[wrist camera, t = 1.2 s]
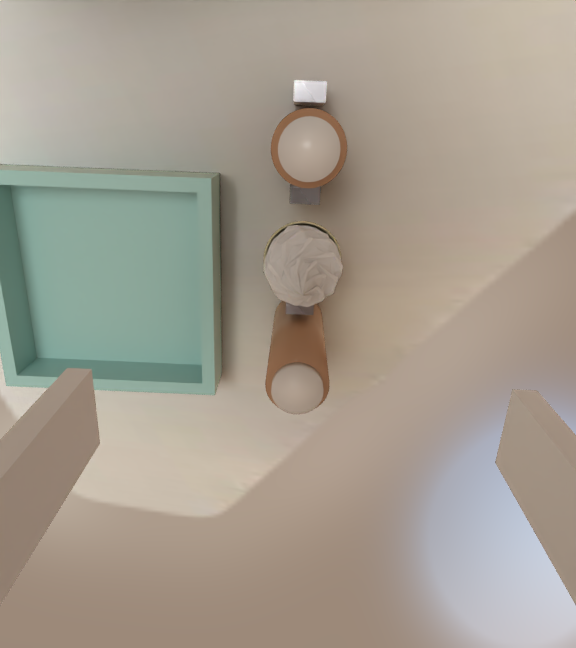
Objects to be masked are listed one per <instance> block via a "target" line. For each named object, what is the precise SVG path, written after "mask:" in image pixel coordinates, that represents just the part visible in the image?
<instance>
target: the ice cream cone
mask: <svg viewBox="0 0 576 648" xmlns="http://www.w3.org/2000/svg"><path fill="white" fill-rule="evenodd" d="M342 270H343V265H342V263H341V251H340V248H339V245H338V243H337V241H336V239H335V238H334V236H333V235H332V234H331V233H330V232H329V231H328V230H327V229H325V228H324V227H322V226H320V225H318V224H316V223H312V222H307V221H299V222H293V223H290V224H287V225H285V226H283V227H281V228H280V229H279V230H277V231H276V232H275V233H274V234H273V235H272V236H271V238H270V239H269V241H268V243H267V245H266V248H265V252H264V272H263V273H264V274H265V276H266V278H267V280H268V282H269V284H270V287H271V289H272V291H273V292H274V293H275V295H276V296H277V298H278V299H279V300H282V301H284V302H287V303H290V304H292V305H295V306H298V305H300V306H304V307H309V306H312V305H314V304H317V303H319V302H322V301H323V300H324V298H325V297H328V296H330V295H332V294H334V290H335V287H336V284H337V281H338V280H339V278H340V276H341V275H342Z"/></svg>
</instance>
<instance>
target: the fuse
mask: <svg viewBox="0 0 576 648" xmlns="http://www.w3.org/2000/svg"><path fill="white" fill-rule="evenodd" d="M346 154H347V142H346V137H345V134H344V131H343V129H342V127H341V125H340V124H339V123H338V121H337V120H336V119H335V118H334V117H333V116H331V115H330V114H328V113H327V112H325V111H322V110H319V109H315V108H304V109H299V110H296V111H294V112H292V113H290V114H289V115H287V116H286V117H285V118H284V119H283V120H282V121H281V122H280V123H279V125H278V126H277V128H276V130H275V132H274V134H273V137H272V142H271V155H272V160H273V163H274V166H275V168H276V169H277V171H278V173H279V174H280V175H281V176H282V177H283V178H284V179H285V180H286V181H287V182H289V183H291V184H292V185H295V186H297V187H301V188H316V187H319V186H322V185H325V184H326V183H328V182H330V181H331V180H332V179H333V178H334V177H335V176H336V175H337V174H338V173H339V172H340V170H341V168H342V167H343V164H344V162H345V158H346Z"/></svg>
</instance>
